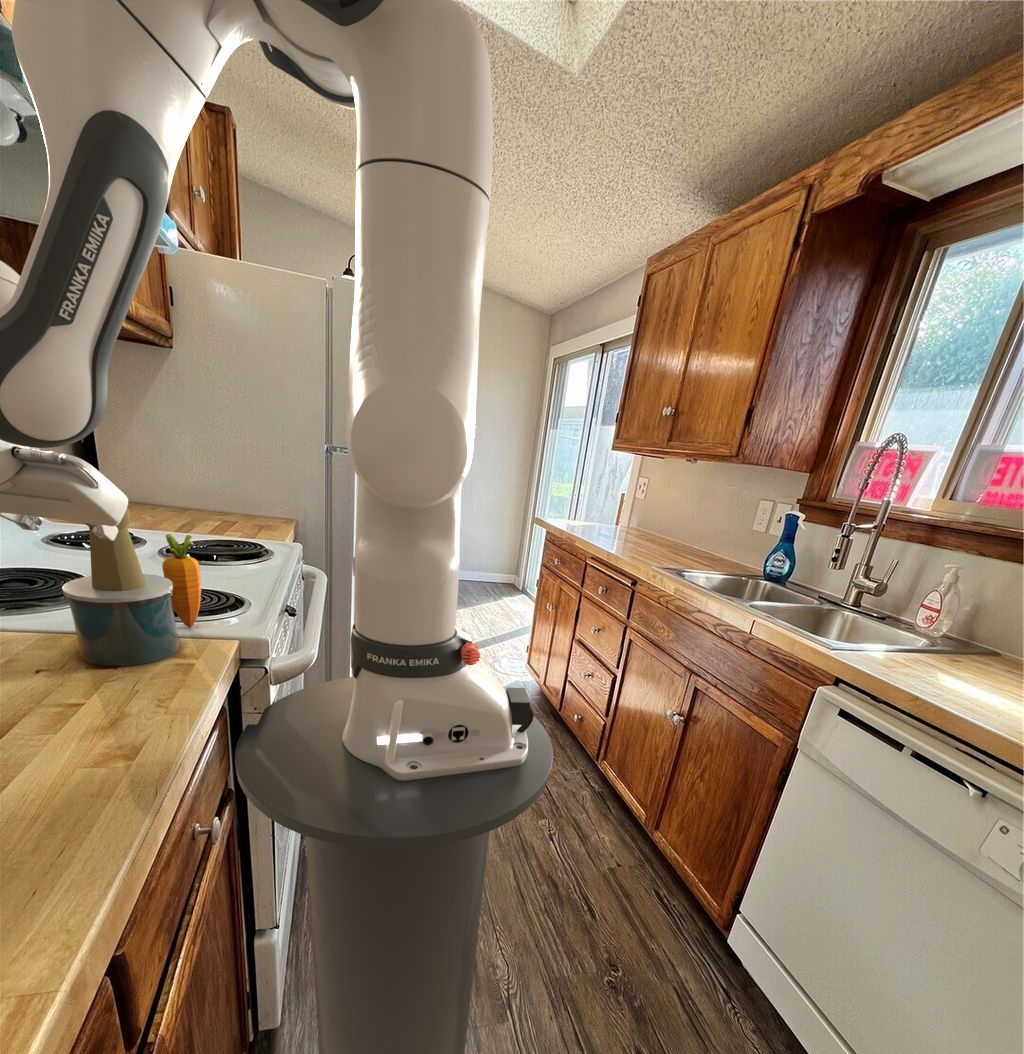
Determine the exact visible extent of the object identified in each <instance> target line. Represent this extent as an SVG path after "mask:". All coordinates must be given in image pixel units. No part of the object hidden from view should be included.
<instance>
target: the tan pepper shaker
mask: <svg viewBox="0 0 1024 1054" xmlns="http://www.w3.org/2000/svg"><path fill="white" fill-rule="evenodd" d="M84 524H85V526H87V527H88V530H89V532H88V533H89V551H90V553H89V554H90V573H91V576H92V587H93V588H94V589H98V590H103V591H127V590H134V589H138V588H141V587H144V586H145V585H146V582H145V579H144V576H143V574H144V573H143V571H142V570H143V569H142V567H141V564H140V562H139V558H138V555H137V552H136V549H135V546H134V544H133V543H134V542H133V540H132V537H131V535H130V532H129V528H128V527H129V525H130V524H131V511H130V510H129V508H128V507H127V509H126V512H125V514H124V516H123V518H122V520H121V521H120V523H119V524H118V525H117V526H116V527H117V529H118V533H117V536H116V538H115V540H113V541H112V540H104V539H100V538H98V536H96V535H95V534H94V533H93V532H92V530H93V528H94V527H95V526H96V525H90V524H89V523H84Z"/></svg>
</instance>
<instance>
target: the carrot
mask: <svg viewBox="0 0 1024 1054" xmlns="http://www.w3.org/2000/svg"><path fill="white" fill-rule="evenodd" d="M192 537H193V536H192V535H190V534H186V536H185V537H184V539H183V543H182V544H183V545H182V544H181V545H180V544H179V543H178V541H177V539H176V538H175V537H174V535H172V534H171V533H167V534H165V539H166V542H167V543H168V546H169V551H170V552H171V553H172V554H173V555H171V556H168V557H167V558H166V559H165V560H163V562H162V566H161V567H162V572H163V577H165V578H167V579H169V580H171V581H172V583H173V595H172V596H171V597H172V603H173V610H174V613H175V614H176V615H177V617H178V619H180V621H181V622H182V623H183V625H184V626H186V627H187V628H188V629H191V628H192V627H193V626H194V625H195V622H196V620H197V617H198V616H199V611H200V608H201V600H202V599H201V598H202V583H201V580H202V579H201V570H200V563H199V561H198V560H197V559H196V558H194V557H192V556H189V555H187V552H188V550H189V549H190V547H192V546H194V542H193V541H191V540H192Z"/></svg>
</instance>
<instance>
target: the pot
mask: <svg viewBox="0 0 1024 1054" xmlns="http://www.w3.org/2000/svg"><path fill="white" fill-rule="evenodd" d="M143 576H144V579H145V582H146V585H145V586H144V587H141V588H138V589H134V590H127V591H103V590H98V589H94V588H93V587H92V575H89V576H83V577H78V578H75V579H73V580H70V581H68V582H66V583H64V584H63V585H62V587H61V590H62V594H63V595H64V599H65V600H66V602H67V603H68V604H69V607H70V612H71V616H72V621H73V625H74V629H75V633H76V634H75V635H76V637H77V642H78V646H79V650H80V654H81V655H80V656H81V658H82V659H83V660H84V661H85V662H87V663H89V664H92V665H96V666H103V667H133V666H140V665H146V664H152V663H156V662H159V661H162V660H165V659H167V658H169V657H171V656H173V655H174V654H176V653H177V652H178V651H179V649H180V642H179V637H178V629H177V622H176V617H175V616H176V615H175V610H174V608H173V603H172V597H171V596H172V595H173V583H172V581H171V580H169V579H167V578H165V577H164V576H161V575H157V574H149V573H143Z"/></svg>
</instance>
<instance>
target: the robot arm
mask: <svg viewBox="0 0 1024 1054" xmlns="http://www.w3.org/2000/svg"><path fill="white" fill-rule="evenodd" d="M12 12H13V13H12V21H11V38H12V41H13V46H14V51H15V54H16V58H17V60H18V63H19V66H20V69H21V72H22V74H23V77H24V80H25V82H26V85H27V87H28V91H29V93H30V96H31V98H32V102H33V104H34V108H35V110H36V114H37V118H38V120H39V123H40V129H41V132H42V135H43V141H44V144H45V148H46V154H47V162H48V163H47V164H48V192H47V197H46V203H45V207H44V208H43V209H44V210H43V212H42V215H41V218H40V221H39V223H38V226H37V229H36V232H35V235H34V238H33V240H32V242H31V246H30V249H29V251H28V254H27V257H26V260H25V262H24V265H23V268H22V271H21V274H19V273H18V272H17V271H16V270H15V269H14V268H13V267H11V266H10V265H9V264H8V263H6V262H5V261H3V260H2V259H0V518H3V519H5V520H7V521H10V522H12V523H14V524H15V525H16V526H18V527H20V528H21V529H22V530H25V531H33V532H34V531H36V532H37V531H39V530H40V526H42V524H43V518H44V519H49V520H50V519H51V520H57V521H58V520H59V521H67V522H73V523H74V522H75V523H82V524H85V523H89V524H90V525H96V526H95V527H94V528H93V530H92V532H93V533H94V534H95V535H96V536H98V538H100V539H104V540H112V541H113V540H115V538H116V536H117V533H118V529H117V527H116V526H117V525H118V524H119V523H120V521H121V520H122V518H123V516H124V514H125V512H126V509H127V508H128V506H129V498H128V496H127V495H126V494H125V493H124V492H123V491H122V490H121V489H120V488H119V487H117V486H116V485H115V484H114V483H113V482H112V481H111V480H110V479H108V478H107V476H105V475H104V474H102V472H100V471H99V470H98V469H97V468H96V467H94V466H93V465H92V464H90V463H89V462H87V461H85V460H84V459H82V458H80V457H78V456H75V455H71V454H67V453H61V452H57V451H52V450H51V451H50V450H49V451H44V450H38V449H51V448H60V447H64V446H68V445H71V444H74V443H77V442H78V441H81V440H83V439H84V438H86V437H87V436H89V435H90V434H91V433H92V432H94V431H95V430H96V429H97V427H98V426H99V425H100V424H101V422H102V420H103V418H104V416H105V413H106V410H107V406H108V372H109V371H108V370H109V364H110V360H111V356H112V352H113V350H114V347H115V344H116V342H117V340H118V337H119V334H120V332H121V329H122V327H123V324H124V321H125V319H126V317H127V315H128V312H129V309H130V307H131V305H132V302H133V299H134V298H135V295H136V292H137V289H138V287H139V285H140V282H141V280H142V278H143V275H144V273H145V270H146V267H147V265H148V263H149V261H150V258H151V255H152V252H153V250H154V247H155V244H156V241H157V239H158V236H159V234H160V231H161V228H162V224H163V221H164V219H165V218H164V217H165V213H166V209H167V205H168V200H169V197H170V192H171V188H172V187H171V186H172V181H173V178H174V174H175V171H176V168H177V165H178V162H179V159H180V157H181V154H182V153H183V150H184V147H185V145H186V142H187V140H188V137H189V135H190V133H191V130H192V128H193V126H194V124H195V122H196V120H197V118H198V116H199V114H200V112H201V110H202V108H203V106H204V104H205V102H206V99H208V97H209V94H210V92H211V90H212V89H213V87H214V84H215V83H216V81H217V78H218V76H219V74H220V73H221V72H222V69H223V67H224V66H225V64H226V62H227V60H228V59H229V58H230V56H231V55H232V54H233V52H234V51H236V49H237V48H238V47H239V46H240V45H243V44H244V43H247V42H252V41H258V43H259V46H260V48H261V50H262V53H263V55H264V57H265V58H266V60H267V61H268V62H269V63H270V64H271V65H272V66H274V67H276V68H277V69H279V70H281V71H282V72H283V73H285V74H287V75H289V76H290V77H292V78H293V79H295V80H297V81H299V82H300V83H302V84H303V85H305V86H306V87H307V88H308V89H310V90H311V91H312V92H314V93H315V94H317V95H318V96H320V97H321V98H323V99H324V100H326V101H328V102H330V103H332V104H334V105H335V106H338V107H341V108H344V109H348V110H355V115H356V162H355V163H356V167H355V168H356V170H355V231H354V232H355V234H354V236H355V237H354V238H355V239H354V240H355V242H354V244H355V245H354V250H355V251H354V293H353V295H354V296H353V307H352V308H353V309H352V321H351V332H350V333H351V335H350V349H349V363H348V365H349V366H348V380H347V381H348V382H347V404H346V405H347V406H346V407H347V408H346V430H345V431H346V435H345V437H346V448H347V454H348V458H349V460H350V463H351V467H352V468H353V470H354V472H355V474H356V476H357V478H358V481H357V509H356V510H357V511H356V527H355V529H356V530H355V545H354V608H355V609H354V617H355V620H354V623H353V624H352V629H351V634H350V639H349V641H350V642H349V645H350V647H349V648H350V650H349V653H350V656H349V657H350V668H351V673H352V677H353V676H354V683H353V692H352V699H351V705H350V711H349V715H348V719H347V723H346V726H345V729H344V732H343V736H342V740H343V744H344V746H345V747H346V749H347V750H348V751H349V752H350V753H351V754H352V755H354V756H355V757H357V758H358V759H360V760H362V761H365V762H367V763H370V764H372V765H375V766H378V767H380V768H382V769H383V770H384V771H385V772H386V773H387V774H389V775H390V776H391V777H393V778H394V779H397V780H401V781H407V780H414V779H422V778H430V777H438V776H445V775H453V774H461V773H468V772H476V771H484V770H491V769H499V768H507V767H514V766H519V765H521V764H522V763H523V762H524V761H525V759H526V757H527V754H528V738H527V734H526V731H525V730H526V729H527V728H528V727H529V726H530V724H531V723H532V721H533V717H535V713H534V709H533V707H532V706H531V701H530V697H529V695H528V692H527V690H526V687H507V686H506V688H504V686H503V685H502V683H501V682H500V681H499V680H498V679H497V678H496V677H495V676H493V675H492V674H491V673H489V672H488V671H486V670H485V669H484V668H482V667H481V666H480V665H478V664H477V663H478V662H479V661H480V658H481V654H480V653H481V652H480V651H479V647H478V646H477V645H476V644H475V643H473V638H472V637H471V636H470V635H469V634H468V632H467V630H466V629H465V627H461V629H460V628H459V627H457V626H456V625H457V612H458V611H457V610H458V599H459V598H458V597H459V585H460V584H459V582H460V569H461V568H460V567H461V501H462V500H461V498H462V485H463V483H464V481H465V479H466V477H467V476H468V474H469V470H470V469H471V468H470V467H471V464H472V460H473V459H472V458H473V454H474V453H473V452H474V443H475V440H474V439H475V429H476V425H475V424H476V410H477V394H478V375H479V373H478V371H479V353H480V352H479V349H480V348H479V347H480V325H481V324H480V320H481V319H480V318H481V307H482V306H481V305H482V295H483V285H484V284H483V283H484V272H485V262H486V261H485V260H486V251H487V239H488V227H489V216H490V206H491V195H492V181H493V180H492V179H493V161H494V160H493V158H494V157H493V154H494V151H493V150H494V117H493V116H494V115H493V111H494V110H493V89H492V87H493V86H492V74H491V73H492V72H491V63H490V62H491V60H490V55H489V51H488V47H487V43H486V41H485V38H484V36H483V34H482V31H481V30H480V27H479V26H478V24H477V23H476V21H475V20H474V19H473V17H472V16H471V15H470V13H468V11H466V9H464V7H463V6H461V4H459V3H457V2H456V1H454V0H14V5H13V11H12Z"/></svg>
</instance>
